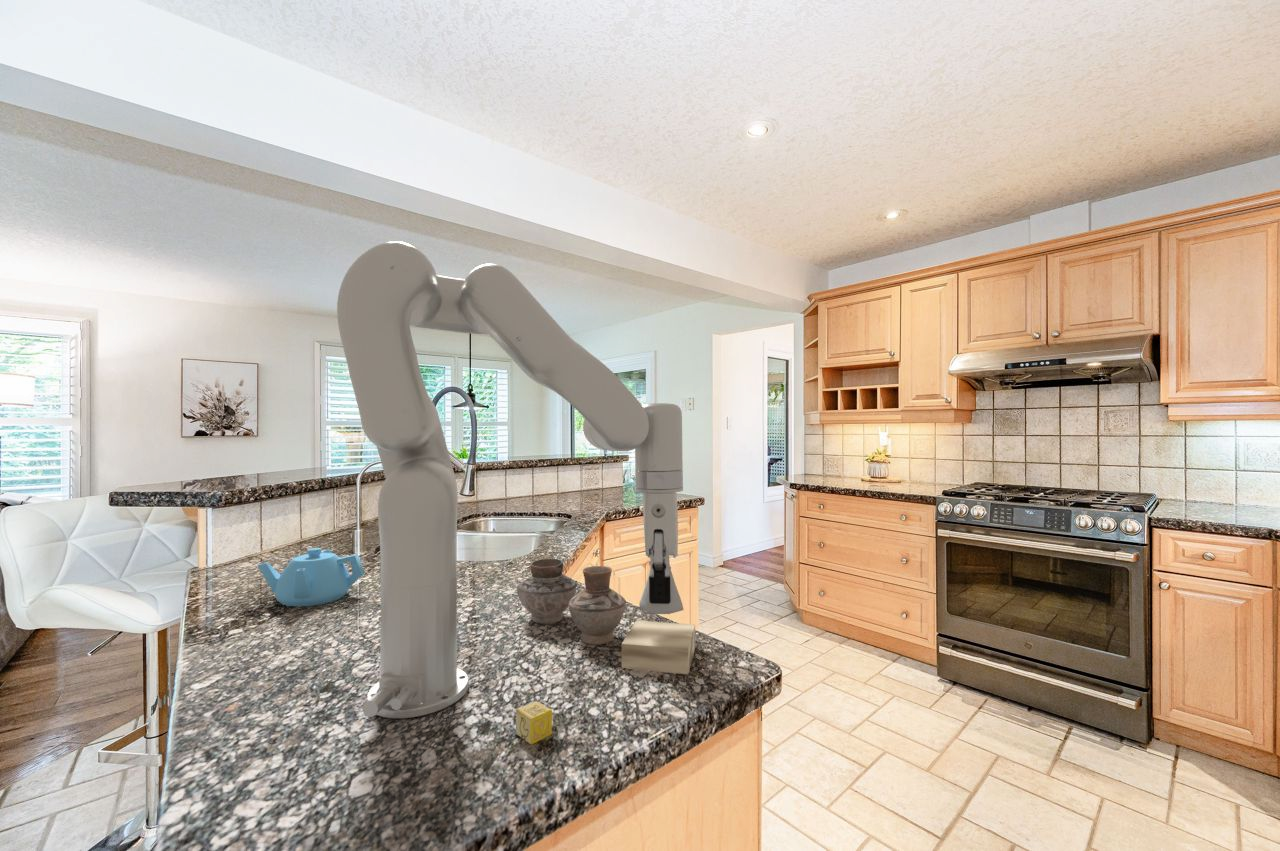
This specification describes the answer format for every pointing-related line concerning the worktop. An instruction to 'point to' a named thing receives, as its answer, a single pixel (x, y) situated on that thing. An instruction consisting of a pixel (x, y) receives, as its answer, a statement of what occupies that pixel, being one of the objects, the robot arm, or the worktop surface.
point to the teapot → (313, 578)
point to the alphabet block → (533, 722)
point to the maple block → (659, 647)
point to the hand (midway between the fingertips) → (660, 596)
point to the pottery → (573, 599)
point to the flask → (669, 608)
